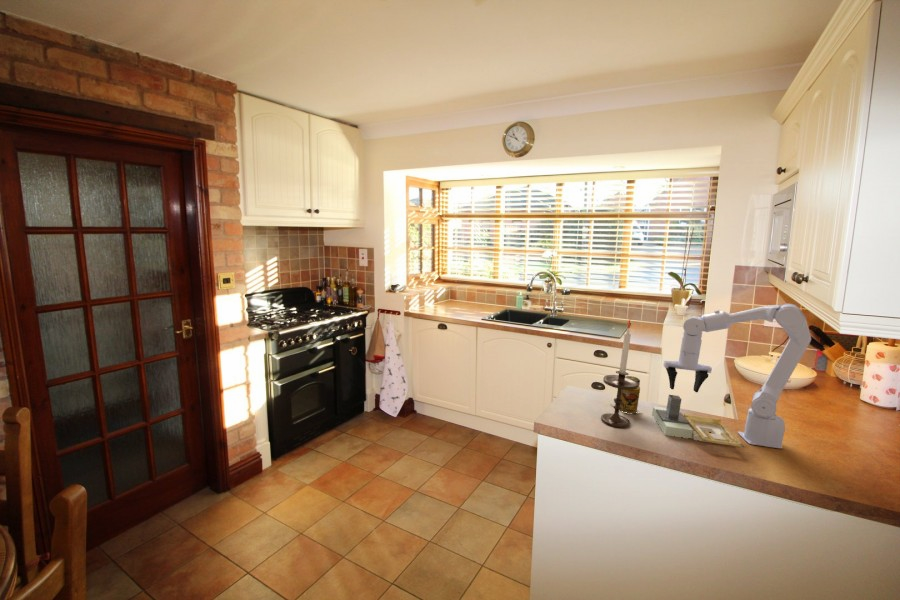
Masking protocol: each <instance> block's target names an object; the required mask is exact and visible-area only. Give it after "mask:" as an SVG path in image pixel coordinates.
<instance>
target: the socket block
mask: <svg viewBox="0 0 900 600" xmlns="http://www.w3.org/2000/svg"><path fill="white" fill-rule="evenodd" d="M693 424H694V425H695V426H696V427H697V428H698V430H699V431H700V432H701V433H702V434H703V436H704V437H705V438H707V439H709V438H708V437H707V436H706V435H705V433H704V432H702V431H704V430H706V431H708V432H711V433H710V435H711V436H712V437H713V438H714V439H715V440H721V441H726V439H725V438H724V437H723V436H722V435H721V433H725V434H726V435H727V436H728V437H729V438H730V439H731V440H732V441H733V442H734V443H735V441H734V440H733V439H732V438H731V436H730V435H729V434H728V433H727V432H726V431H725V430H724V429H723V428H722V427H721V426H720V425H712V424H705V423H698V422H693ZM688 425H689V426H690V424H688ZM690 427H691V426H690ZM691 428H692V427H691ZM692 430H693V432H692V437H693V438H694V439H693V438H692V439H693V441H697V440H699V441H698V442H703V441H702V439H701V438H700V437H699V436H698V434H697V433H696V432H695V431H694V429H693V428H692Z"/></svg>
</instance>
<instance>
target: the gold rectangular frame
mask: <svg viewBox="0 0 900 600" xmlns="http://www.w3.org/2000/svg"><path fill="white" fill-rule="evenodd" d="M683 416H684V417H685V418H686V419H687V421H688V422H689V424H690V426H691V427H692V428H693V429H694V431H695V432H696V433H697V434H698V436H699V437H700V438H701V439H702V441H701V442H703V443H704V442H706V443H713V444H719V445H724V446H725V445H726V446H731V447H733V446H734V447H739V448H740V447H741V448H745V444H744V443H743V442H742V441H741V440H740V439H739V438H738V437H737V436H736V435H735V434H734V433H733V432H732V431H731V430H730V429H729V428H728V427H727V426H726V425H725V424H724V423H723V422H722V419H721V418H719V417H718V418H717V417H711V416H703V415H695V414H687V413H683ZM693 422H697V423H704V424H711V425H719V426H720V427H722V428H723V429H724V430H725V431H726V432H727V433H728V434H729V437H730V438H731V439H732V440H733V441H734V442H733V441H732V440H731V439H730V438H729V437H728V436H727V435H726V434H725V433H721V435H722V436H723V437H724V438H725V439H726V441H721V440H715V439H714V438H713V437H712V436H711V435H710V433H709V432H708V431H706V430H704V431H703V432H704V433H705V435H706V436H707V437H708V438H709V439H707V438H705V437H704V436H703V434H702V433H701V432H700V431H699V430H698V428H697V427H696V426H695V425H694V424H693Z"/></svg>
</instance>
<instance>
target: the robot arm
mask: <svg viewBox="0 0 900 600" xmlns="http://www.w3.org/2000/svg"><path fill="white" fill-rule="evenodd" d="M757 320H763V321H767V322H769V323H774V320H775V321H776V323H777V325H779V326H780V327H781V328H782V329H783V330H785V332H786V334H787V336H788V338H789V339H788V341H787V343H786V345H785V346H784V348H783V350H782V352H781V353H780V356H779V357H778V359H777V361H776V363H775V364H774V366H773V368H772V369H771V372H770V373H769V374H768V377H767V379H766V381H765V382H764V383H763V384H762V386H761V388H760V389H759V390H757V391H755V392H754V393H753V394H752V402H751V404H750V408H748V411H747V414H746V415H747V417H746V420H745V426H744V431H737V434H738V435H739V436H741V438H742V439H744V440H745V442H747V444H749V445H754V446H760V447H769V448H775V449H780V450H781V449H783V448H784V447H783V446H782V445H783V441H784V435H785V431H786V423H785V420H784V418H782V417H781V416H778V415H777V414H776V413H777V410H778V409H777V403H778V402H779V400H780V396H781V394H782V392H783V391H784V389H785V387H786V386H787V383H788V381H789V379H790V378H791V376H792V374H793V372H794V371H795V369H796V367H797V366H798V364H799V362H800V361H801V359H802V357H803V356H804V353H805V352H806V350H807V348H808V347H809V345H810V343H811V341H812V335H811V333H810V332H811V331H810V328H809V325H808V321H807V318H806V315H805V314H804V313H803V312H802V310H801V308H800V307H799V306H798V305H797V304H793V303H782V304H781V305H780V304H771V305H764V306H763V305H762V306H759V307H755V308H750V309H746V310H741V311H738V312H733V313H729V312H726V311H724V310H722V311H720V309H718V310H714V312H712V313H708V314H701V313H700V314H698V315H696V316H694V315H693V316H690V317H689V318H687V319H686V320H685V321H684V323H683V324H682V325H683V328H682V329H683V334H682V335H683V336H682V339H681V344H680V352H679V357H678V358H679V359H678V361H677V360H673V361H672V360H664V361H663V367H664V368H665V370H666V373H667V375H668V380H669V388H670V390H674V389H675V383H676V378H677V375H678V372H677V369H678V370H685V371H693V372H695V374H694V375H695V376H694V377H695V378H694V383H693V391H694V392H695V393H698V392H699V390H700V388H701V386H702V385H703V383H704V382H705V381H706V380H707V379H708V377H709V374H712V370H713V367H711V366H710V365H704V364H700V363H699V359H700V352H701V346H702V341H703V340H702V337H703V332H705V333H709V332H715V331H720V330H726V329H729V328H731V326H732V324H737V323H744V322H750V321H757Z"/></svg>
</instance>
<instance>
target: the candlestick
mask: <svg viewBox="0 0 900 600" xmlns="http://www.w3.org/2000/svg"><path fill="white" fill-rule="evenodd" d="M627 323H628V324H627V328H626V329H627V330H626V332H624V336H623V341H622V342H623V343H622V350H621V358H620V364H619V370H616V371H615V373H616V374H607V375H604V377H603V380H602V381H603V383H604V384H606V385H607V386H609V387H612V388H614V389H617V391H616V392H617V393H616V397H615V398H614V399H613V403H614V404H615V406H612V407H613V409H614V413H610V412H609V413H603V414H602V415H601V417H600V420H601V422H602V423H604V424H605V425H606V426H610V427H613V428H616V429H627V428H630V426H631V420H630V419H629V418H627V417H625V416H623V415H620V411H619V410H620V409H621V407H620V404H622V402H623V400H622V399H621V394H622V389H624V390H635V389H638V387H640V385H639V383H638V382H637V381H636V380H634V379H631V378H628V377H626V376H630V374H629V372H626V371H627V365H628V356H629V351H630V342H631V335H632V333H631V332H630V327H631V319H629V320H628V321H627Z"/></svg>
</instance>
